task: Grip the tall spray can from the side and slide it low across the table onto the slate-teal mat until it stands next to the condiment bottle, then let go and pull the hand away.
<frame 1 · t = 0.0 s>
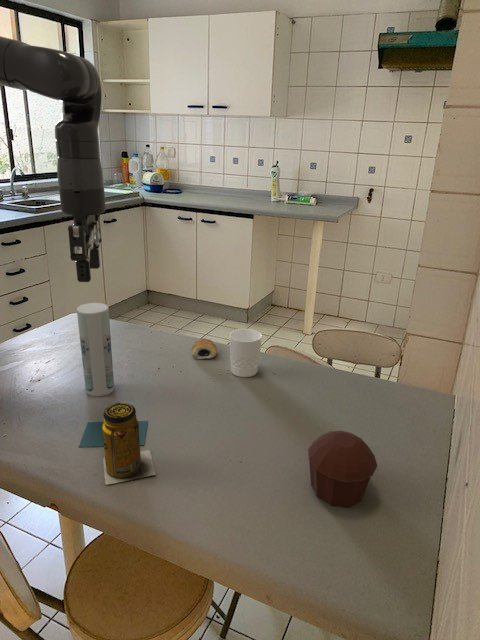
hand: (89, 274, 87), 30 cm above the table, tool pointing down, fingers open, 8 cm apart
muffin: (337, 489, 79), on the table
pastry: (203, 354, 125), on the table
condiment: (128, 468, 82), on the table
spray can: (100, 390, 106), on the table
mat: (114, 433, 91), on the table
white cup: (244, 371, 117), on the table
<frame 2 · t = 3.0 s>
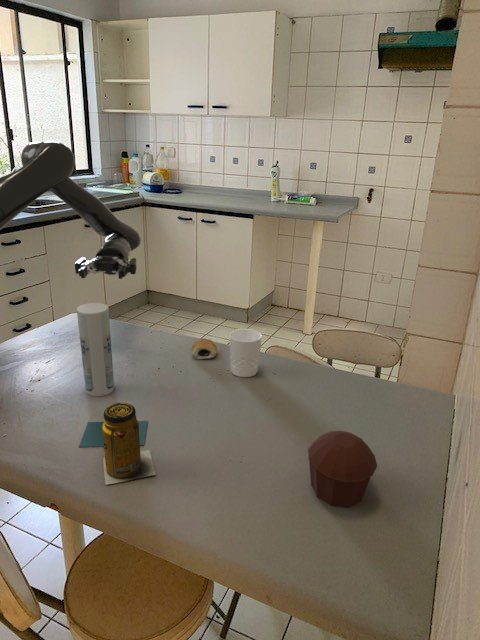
hand: (101, 274, 107), 24 cm above the table, tool horizontal, fingers open, 8 cm apart
nothing on the table moved.
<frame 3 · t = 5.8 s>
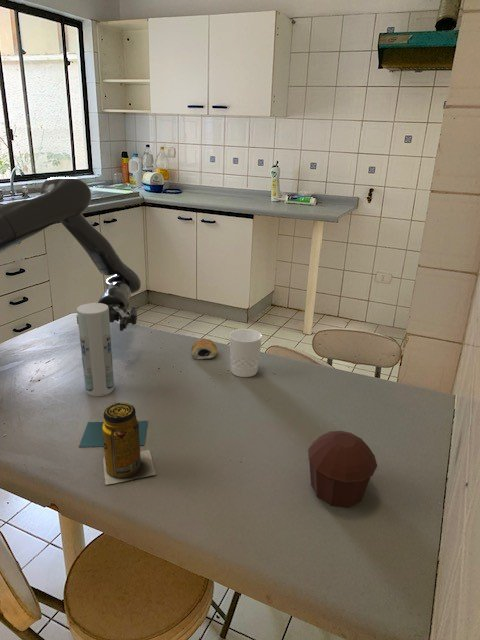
hand: (102, 327, 109), 12 cm above the table, tool horizontal, fingers open, 8 cm apart
nothing on the table moved.
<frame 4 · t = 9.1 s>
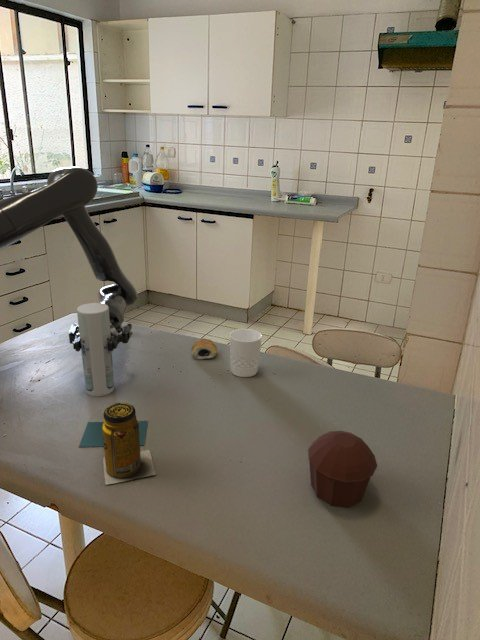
hand: (94, 347, 100), 12 cm above the table, tool horizontal, fingers closed on spray can, 6 cm apart
spray can: (100, 390, 106), on the table, touching gripper
everything else where it was.
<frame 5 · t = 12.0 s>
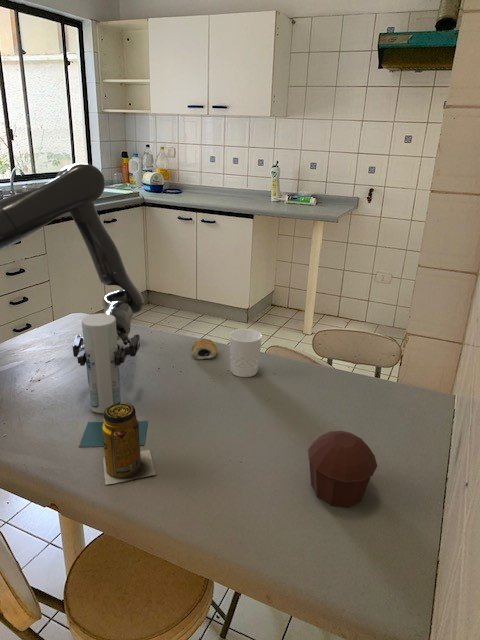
hand: (99, 361, 93), 12 cm above the table, tool horizontal, fingers closed on spray can, 6 cm apart
spray can: (106, 405, 99), on the table, touching gripper
everything else where it was.
when the fingers open (12 cm above the table, at t = 15.3 s): spray can stays where it is, resting on mat.
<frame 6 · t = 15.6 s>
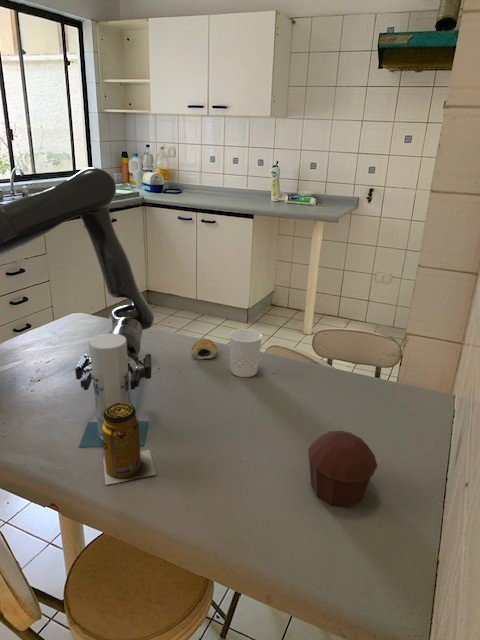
hand: (109, 385, 85), 12 cm above the table, tool horizontal, fingers open, 8 cm apart
spray can: (115, 433, 91), resting on mat
everything else where it was.
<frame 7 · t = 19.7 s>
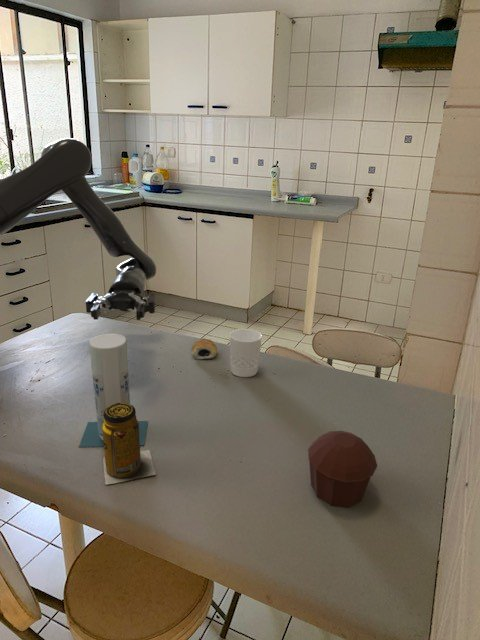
hand: (116, 315, 93), 21 cm above the table, tool horizontal, fingers open, 8 cm apart
nothing on the table moved.
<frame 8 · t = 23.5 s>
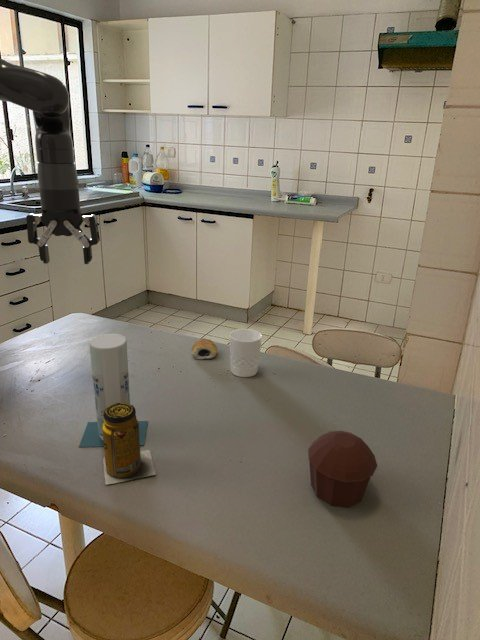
hand: (67, 263, 100), 28 cm above the table, tool pointing down, fingers open, 8 cm apart
nothing on the table moved.
at the end: spray can 10.9 cm from the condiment (horizontally); spray can tilted 0°; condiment moved 0.2 cm from its start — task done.
